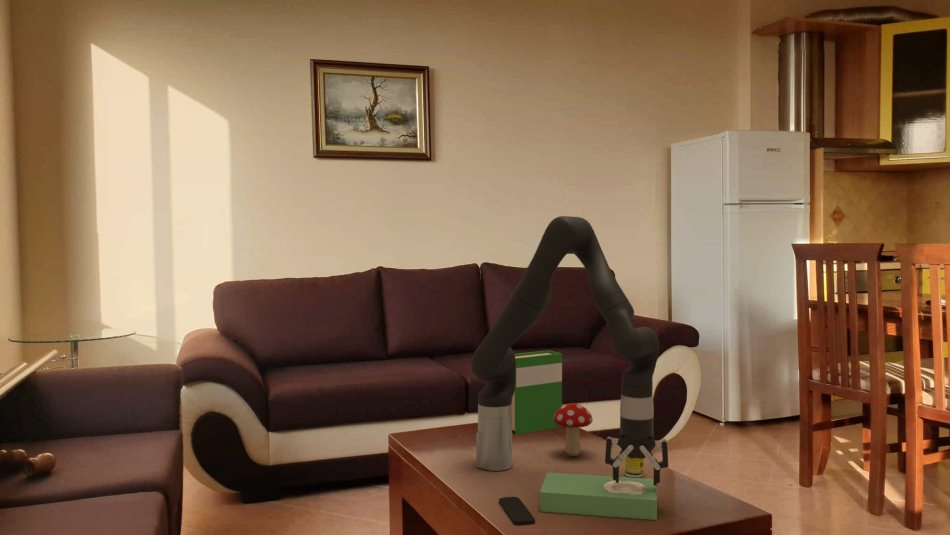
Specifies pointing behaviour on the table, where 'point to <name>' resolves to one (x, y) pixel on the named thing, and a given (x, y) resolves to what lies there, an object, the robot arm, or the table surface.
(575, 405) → the decorative mushroom
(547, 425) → the hardback book
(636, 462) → the supplement bottle
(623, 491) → the ball
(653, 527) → the table surface
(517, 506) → the remote control
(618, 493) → the green flat block
